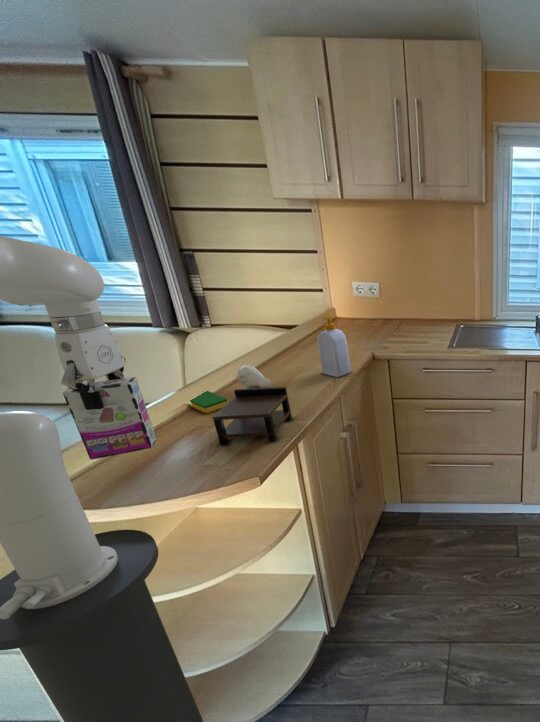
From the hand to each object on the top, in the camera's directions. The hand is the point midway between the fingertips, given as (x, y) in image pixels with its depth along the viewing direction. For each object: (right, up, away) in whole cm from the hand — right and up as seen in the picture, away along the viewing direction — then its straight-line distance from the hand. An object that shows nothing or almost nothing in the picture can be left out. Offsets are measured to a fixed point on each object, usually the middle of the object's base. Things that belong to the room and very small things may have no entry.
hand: (107, 401), depth 89 cm
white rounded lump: (0, +1, +56) cm, 56 cm away
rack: (+17, -10, +28) cm, 34 cm away
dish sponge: (-10, -4, +44) cm, 45 cm away
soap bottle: (+22, +7, +72) cm, 76 cm away
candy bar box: (0, -12, +4) cm, 12 cm away
